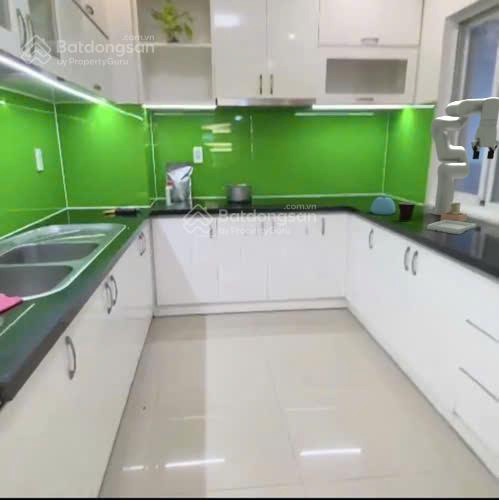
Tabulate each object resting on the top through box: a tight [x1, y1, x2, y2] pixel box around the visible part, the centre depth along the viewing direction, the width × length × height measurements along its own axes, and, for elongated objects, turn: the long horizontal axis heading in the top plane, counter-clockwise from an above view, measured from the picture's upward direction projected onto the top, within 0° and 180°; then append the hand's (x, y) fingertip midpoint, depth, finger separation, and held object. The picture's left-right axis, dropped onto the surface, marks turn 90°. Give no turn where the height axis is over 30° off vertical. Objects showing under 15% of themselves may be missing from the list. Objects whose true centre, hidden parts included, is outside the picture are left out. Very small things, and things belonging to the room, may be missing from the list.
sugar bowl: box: [370, 194, 396, 216], centre depth 245 cm, size 15×15×12 cm
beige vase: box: [449, 201, 461, 216], centre depth 214 cm, size 5×5×10 cm
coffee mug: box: [398, 201, 416, 223], centre depth 219 cm, size 12×9×10 cm
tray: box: [427, 220, 477, 235], centre depth 199 cm, size 16×20×2 cm
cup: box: [440, 212, 468, 222], centre depth 215 cm, size 10×10×5 cm
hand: (482, 159), depth 198 cm, fingers open, 9 cm apart
